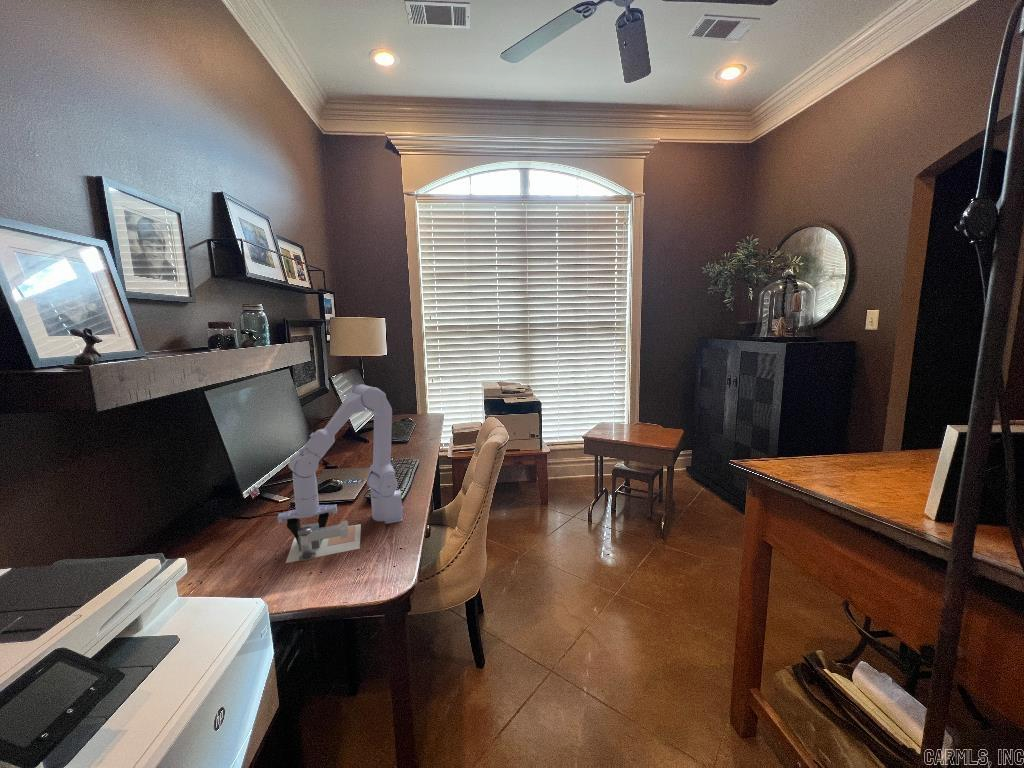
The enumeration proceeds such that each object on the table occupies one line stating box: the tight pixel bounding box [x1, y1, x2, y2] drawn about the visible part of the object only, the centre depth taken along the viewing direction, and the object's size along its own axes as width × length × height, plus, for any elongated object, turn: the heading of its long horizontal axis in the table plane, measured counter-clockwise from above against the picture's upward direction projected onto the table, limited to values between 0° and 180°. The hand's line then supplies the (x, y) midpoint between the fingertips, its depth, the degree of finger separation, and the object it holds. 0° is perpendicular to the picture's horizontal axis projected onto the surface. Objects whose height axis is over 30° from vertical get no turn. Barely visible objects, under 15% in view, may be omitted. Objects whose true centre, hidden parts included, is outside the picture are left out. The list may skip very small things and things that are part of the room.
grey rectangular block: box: [298, 522, 321, 551], centre depth 108 cm, size 5×7×4 cm
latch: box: [298, 520, 349, 558], centre depth 103 cm, size 5×12×8 cm, turn 111°
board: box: [285, 523, 362, 564], centre depth 108 cm, size 18×15×1 cm
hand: (311, 540), depth 108 cm, fingers closed on grey rectangular block, 5 cm apart
